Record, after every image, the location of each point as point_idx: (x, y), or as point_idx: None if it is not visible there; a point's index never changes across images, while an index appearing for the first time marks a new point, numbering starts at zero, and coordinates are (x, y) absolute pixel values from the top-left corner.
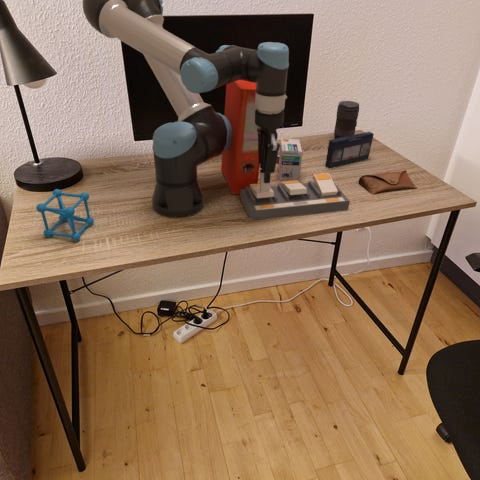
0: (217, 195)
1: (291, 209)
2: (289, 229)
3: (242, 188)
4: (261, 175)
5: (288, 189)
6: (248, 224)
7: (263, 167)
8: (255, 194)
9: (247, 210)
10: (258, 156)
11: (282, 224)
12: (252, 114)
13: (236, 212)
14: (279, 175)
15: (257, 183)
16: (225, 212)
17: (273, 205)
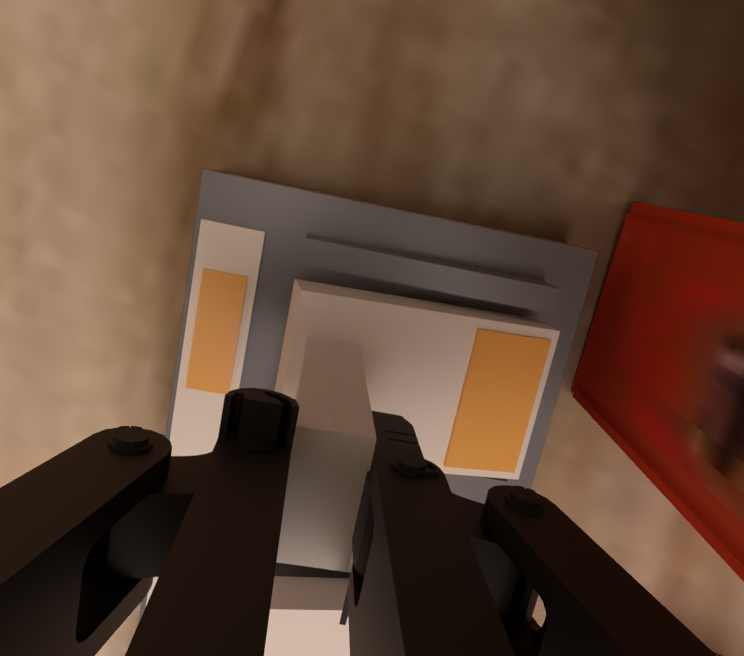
0: (687, 80)
1: None
2: (9, 382)
3: (627, 291)
4: (316, 404)
5: (294, 600)
6: (170, 124)
7: (245, 469)
8: (353, 292)
9: (331, 194)
10: (603, 556)
11: (88, 368)
12: None
13: (372, 113)
14: (715, 654)
15: (605, 430)
16: (408, 23)
17: (209, 387)
